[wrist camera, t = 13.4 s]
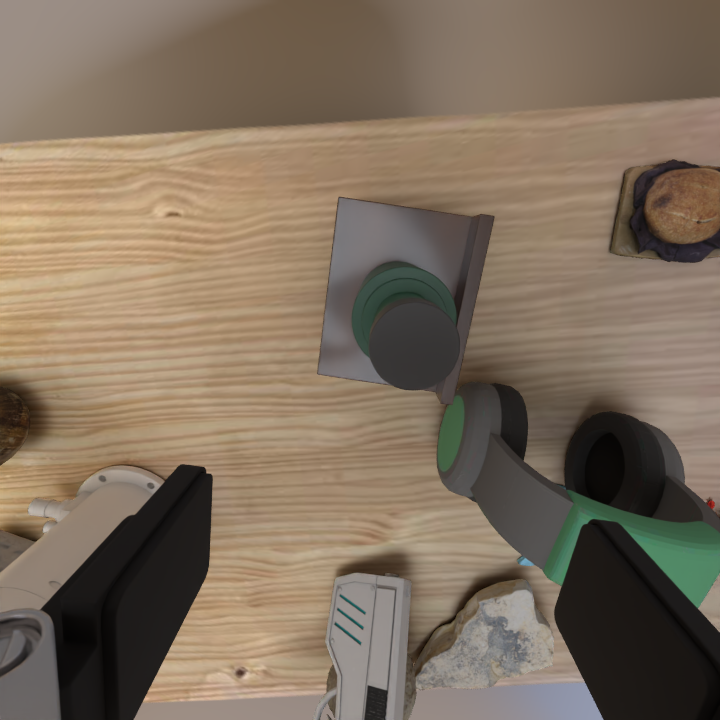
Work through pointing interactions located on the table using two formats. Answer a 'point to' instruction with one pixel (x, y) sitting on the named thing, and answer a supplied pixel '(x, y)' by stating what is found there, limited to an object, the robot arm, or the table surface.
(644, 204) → the bread roll
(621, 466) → the headphones
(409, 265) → the bottle
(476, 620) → the stone
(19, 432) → the seashell
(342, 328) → the box
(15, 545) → the incense holder
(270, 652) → the table surface
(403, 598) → the futuristic handgun
